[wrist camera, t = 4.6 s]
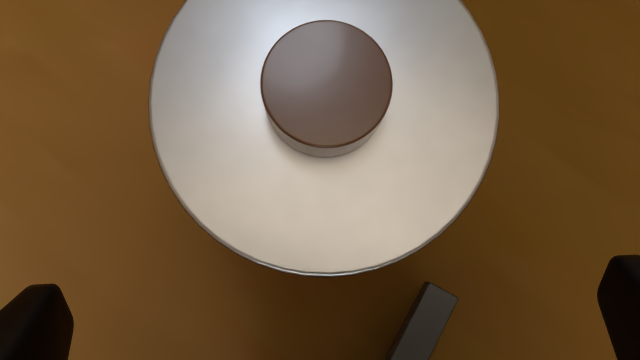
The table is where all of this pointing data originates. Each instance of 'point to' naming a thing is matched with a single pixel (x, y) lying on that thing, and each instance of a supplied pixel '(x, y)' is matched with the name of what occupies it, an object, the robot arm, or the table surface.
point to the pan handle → (423, 324)
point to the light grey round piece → (323, 126)
